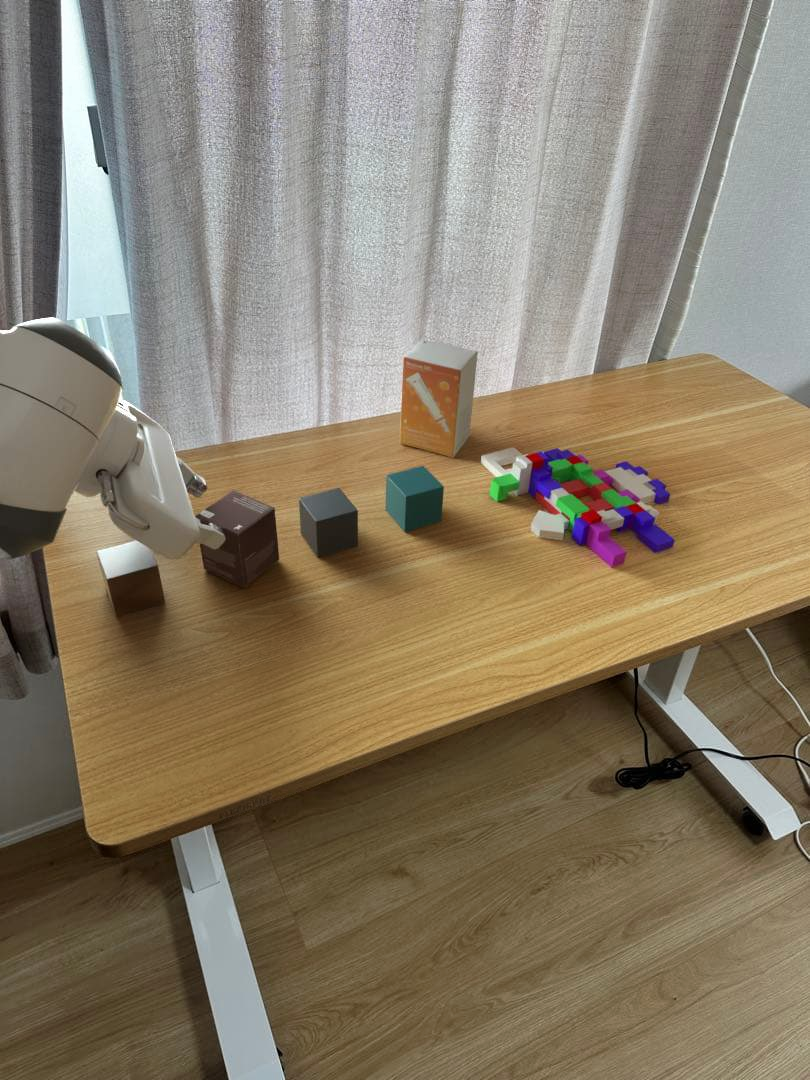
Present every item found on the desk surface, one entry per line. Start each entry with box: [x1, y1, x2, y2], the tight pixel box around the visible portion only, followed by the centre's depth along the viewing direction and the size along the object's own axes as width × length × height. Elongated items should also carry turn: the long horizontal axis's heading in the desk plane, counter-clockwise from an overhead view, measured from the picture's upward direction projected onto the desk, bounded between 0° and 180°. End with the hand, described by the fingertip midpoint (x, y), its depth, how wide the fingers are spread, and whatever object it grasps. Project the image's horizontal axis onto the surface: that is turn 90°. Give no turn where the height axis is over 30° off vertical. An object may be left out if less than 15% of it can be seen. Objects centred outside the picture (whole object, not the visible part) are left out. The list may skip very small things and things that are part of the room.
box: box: [195, 489, 280, 589], centre depth 86 cm, size 6×6×7 cm
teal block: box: [385, 465, 445, 533], centre depth 95 cm, size 5×5×5 cm
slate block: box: [298, 487, 359, 558], centre depth 91 cm, size 5×5×5 cm
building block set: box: [480, 446, 676, 568], centre depth 99 cm, size 25×20×4 cm
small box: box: [399, 339, 479, 459], centre depth 107 cm, size 8×6×13 cm
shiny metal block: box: [95, 540, 166, 618], centre depth 82 cm, size 5×5×5 cm
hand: (211, 513), depth 83 cm, fingers open, 8 cm apart
